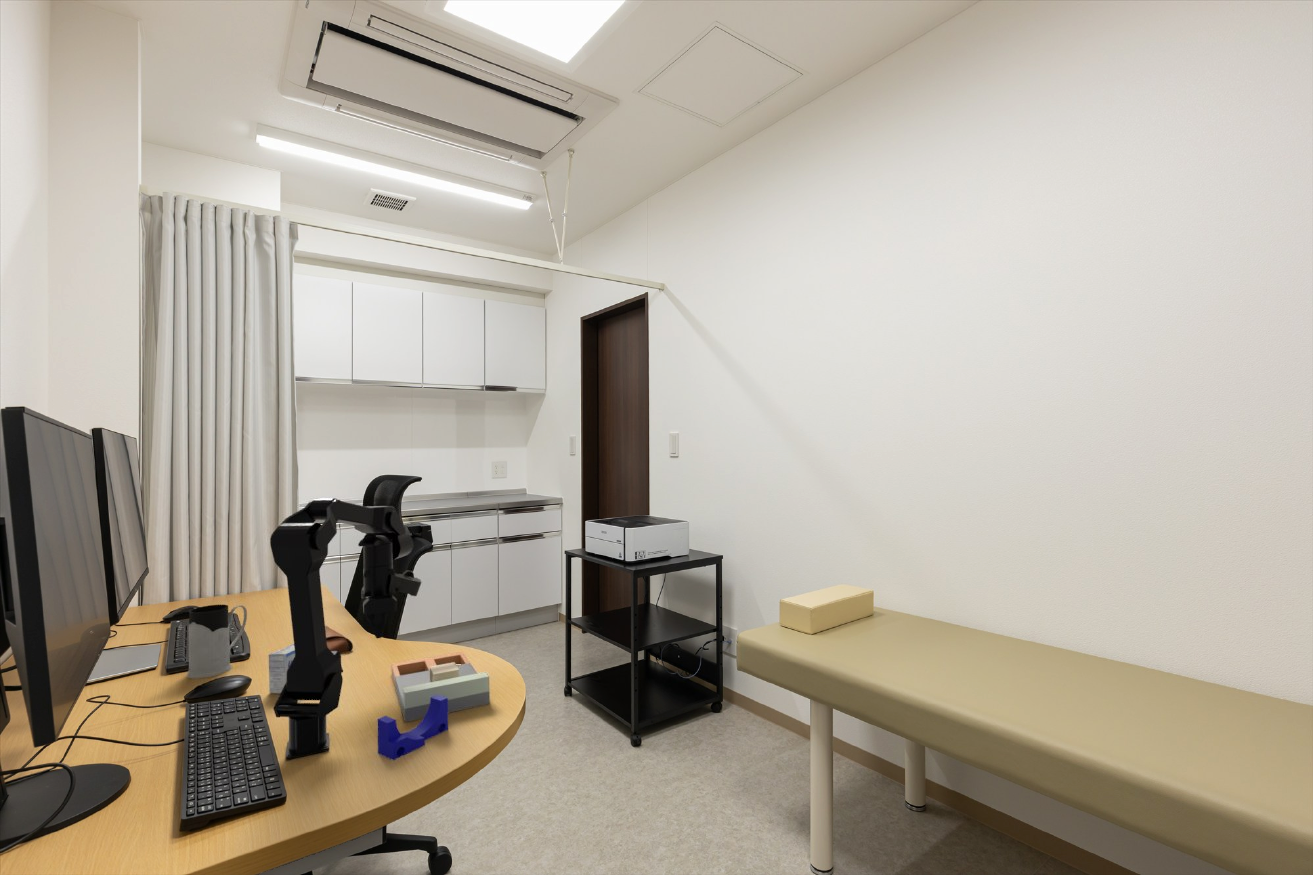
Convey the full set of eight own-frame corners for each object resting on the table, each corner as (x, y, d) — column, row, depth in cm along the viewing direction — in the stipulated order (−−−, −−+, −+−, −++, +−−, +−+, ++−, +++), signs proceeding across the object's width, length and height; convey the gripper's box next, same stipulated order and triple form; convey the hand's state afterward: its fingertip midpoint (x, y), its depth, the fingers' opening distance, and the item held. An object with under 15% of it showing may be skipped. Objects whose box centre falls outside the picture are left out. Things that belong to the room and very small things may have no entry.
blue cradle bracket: (393, 761, 101) (392, 725, 101) (378, 754, 104) (377, 718, 104) (453, 732, 111) (452, 699, 111) (437, 726, 114) (437, 694, 114)
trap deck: (489, 703, 123) (489, 676, 123) (405, 721, 115) (404, 693, 115) (462, 661, 147) (462, 639, 148) (391, 674, 140) (391, 650, 140)
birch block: (459, 688, 124) (458, 669, 124) (433, 694, 122) (433, 674, 122) (454, 680, 129) (454, 662, 129) (429, 685, 126) (429, 666, 126)
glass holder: (176, 676, 141) (176, 612, 142) (232, 656, 155) (232, 597, 155) (206, 679, 139) (206, 614, 139) (260, 658, 153) (259, 598, 153)
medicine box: (286, 695, 129) (285, 654, 130) (268, 693, 130) (267, 653, 130) (313, 680, 137) (313, 642, 137) (297, 679, 138) (296, 641, 138)
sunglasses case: (296, 643, 164) (310, 619, 167) (320, 651, 168) (333, 627, 171) (318, 658, 152) (332, 632, 154) (344, 666, 156) (357, 641, 158)
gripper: (423, 567, 125) (424, 643, 125) (414, 554, 142) (414, 621, 141) (363, 573, 120) (364, 652, 120) (361, 559, 137) (361, 628, 136)
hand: (378, 637), depth 129 cm, fingers closed
